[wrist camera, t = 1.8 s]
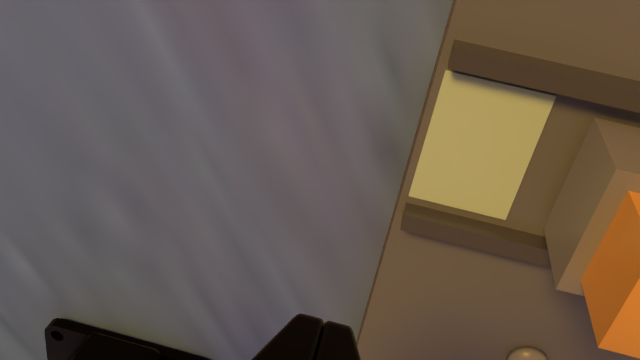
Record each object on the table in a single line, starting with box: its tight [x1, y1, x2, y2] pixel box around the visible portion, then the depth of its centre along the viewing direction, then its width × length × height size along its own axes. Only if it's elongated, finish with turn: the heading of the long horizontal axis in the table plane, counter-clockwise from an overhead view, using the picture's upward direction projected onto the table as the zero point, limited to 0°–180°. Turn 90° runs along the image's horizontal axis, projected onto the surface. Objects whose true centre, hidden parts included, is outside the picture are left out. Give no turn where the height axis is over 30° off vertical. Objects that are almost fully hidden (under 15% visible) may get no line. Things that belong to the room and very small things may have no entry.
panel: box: [356, 0, 640, 360], centre depth 15 cm, size 20×10×2 cm, turn 170°
